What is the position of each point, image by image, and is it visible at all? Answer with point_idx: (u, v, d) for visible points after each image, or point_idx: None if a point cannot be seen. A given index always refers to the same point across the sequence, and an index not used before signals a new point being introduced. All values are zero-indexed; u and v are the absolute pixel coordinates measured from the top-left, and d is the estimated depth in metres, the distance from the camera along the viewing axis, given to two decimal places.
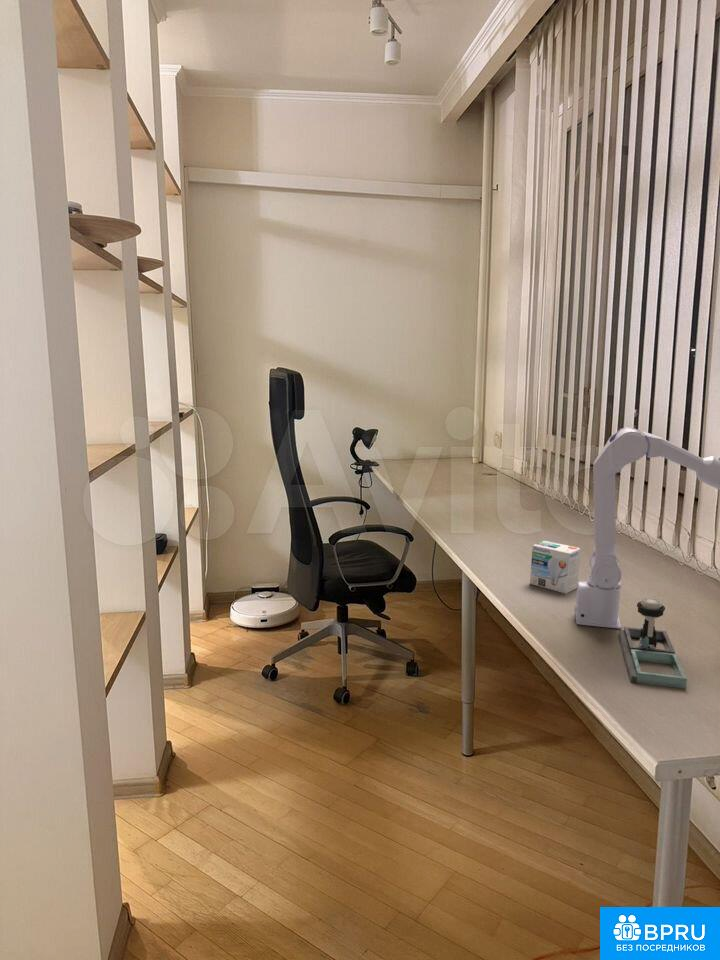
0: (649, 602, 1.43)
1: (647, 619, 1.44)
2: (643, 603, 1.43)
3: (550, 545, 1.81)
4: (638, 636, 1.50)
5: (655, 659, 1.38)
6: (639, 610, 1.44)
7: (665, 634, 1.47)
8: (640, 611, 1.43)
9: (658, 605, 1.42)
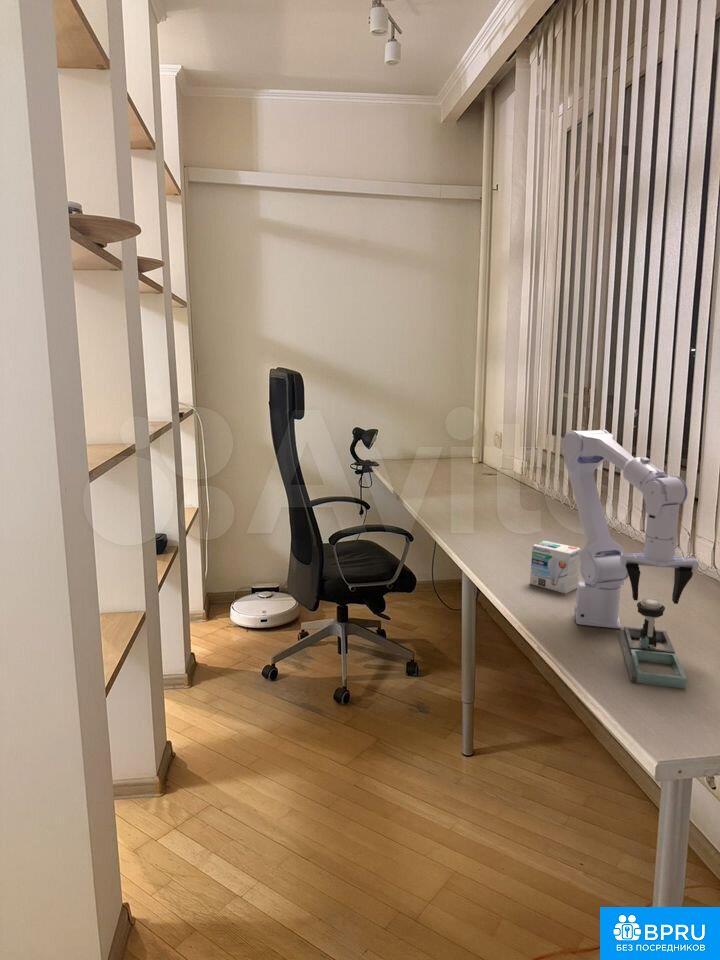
0: (649, 602, 1.43)
1: (647, 619, 1.44)
2: (643, 603, 1.43)
3: (550, 545, 1.81)
4: (638, 636, 1.50)
5: (655, 659, 1.38)
6: (639, 610, 1.44)
7: (665, 634, 1.47)
8: (640, 611, 1.43)
9: (658, 605, 1.42)
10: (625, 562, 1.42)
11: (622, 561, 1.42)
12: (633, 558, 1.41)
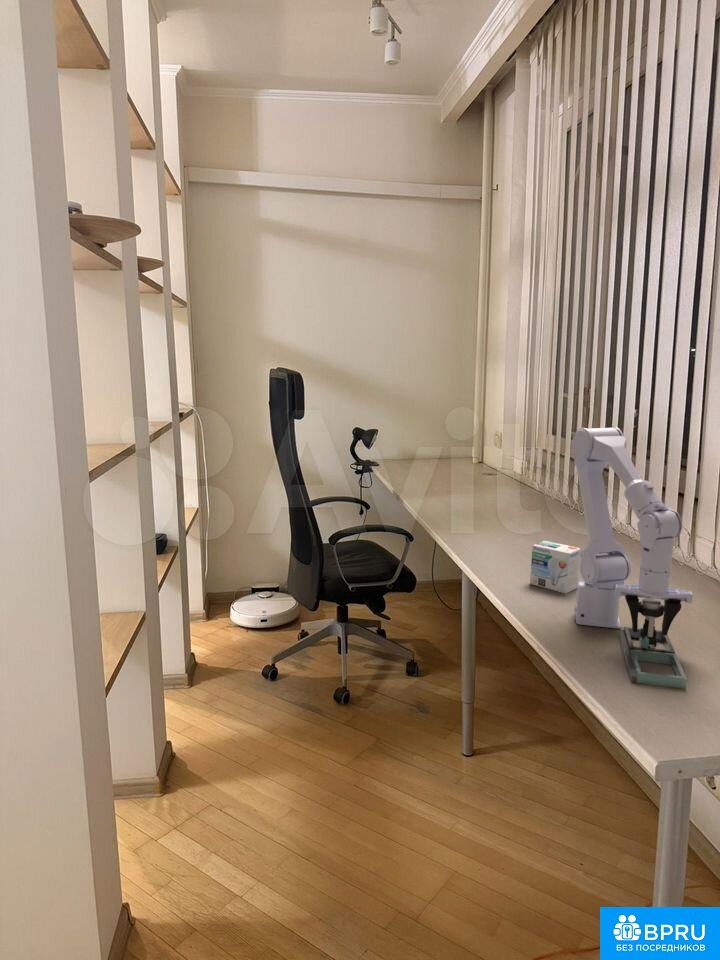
0: (649, 602, 1.43)
1: (647, 619, 1.44)
2: (643, 603, 1.43)
3: (550, 545, 1.81)
4: (638, 636, 1.50)
5: (655, 659, 1.38)
6: (639, 610, 1.44)
7: None
8: (640, 611, 1.43)
9: (658, 605, 1.42)
10: (620, 593, 1.43)
11: (617, 592, 1.43)
12: (627, 590, 1.42)
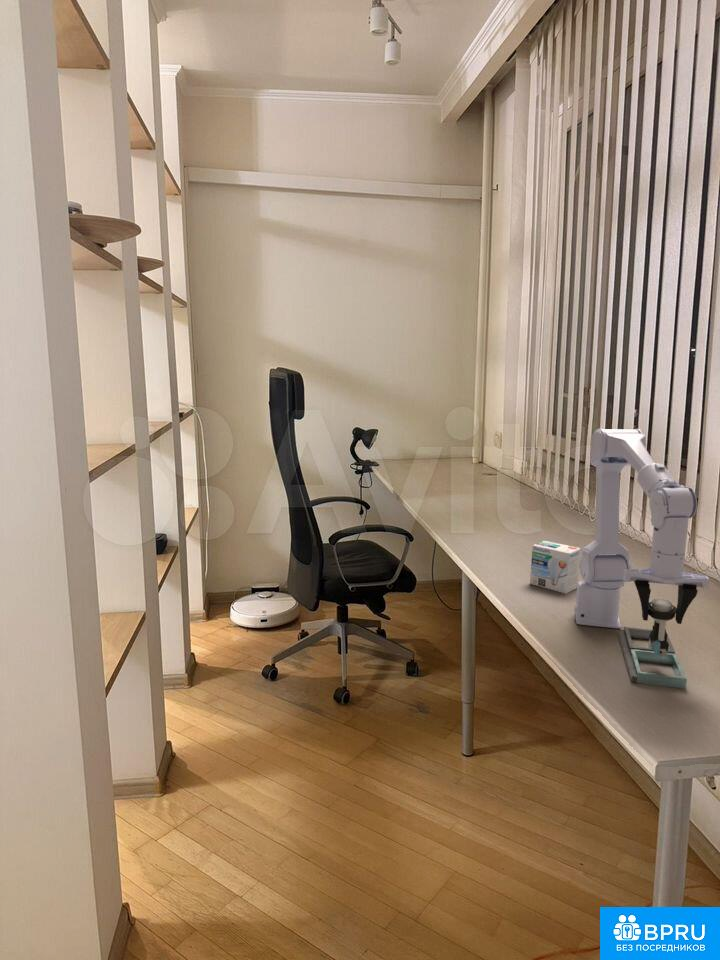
0: (660, 604, 1.32)
1: (658, 622, 1.33)
2: (653, 605, 1.32)
3: (550, 545, 1.81)
4: (638, 636, 1.50)
5: (655, 659, 1.38)
6: (649, 613, 1.33)
7: None
8: (650, 614, 1.32)
9: (670, 607, 1.31)
10: (629, 578, 1.31)
11: (626, 577, 1.31)
12: (638, 575, 1.30)
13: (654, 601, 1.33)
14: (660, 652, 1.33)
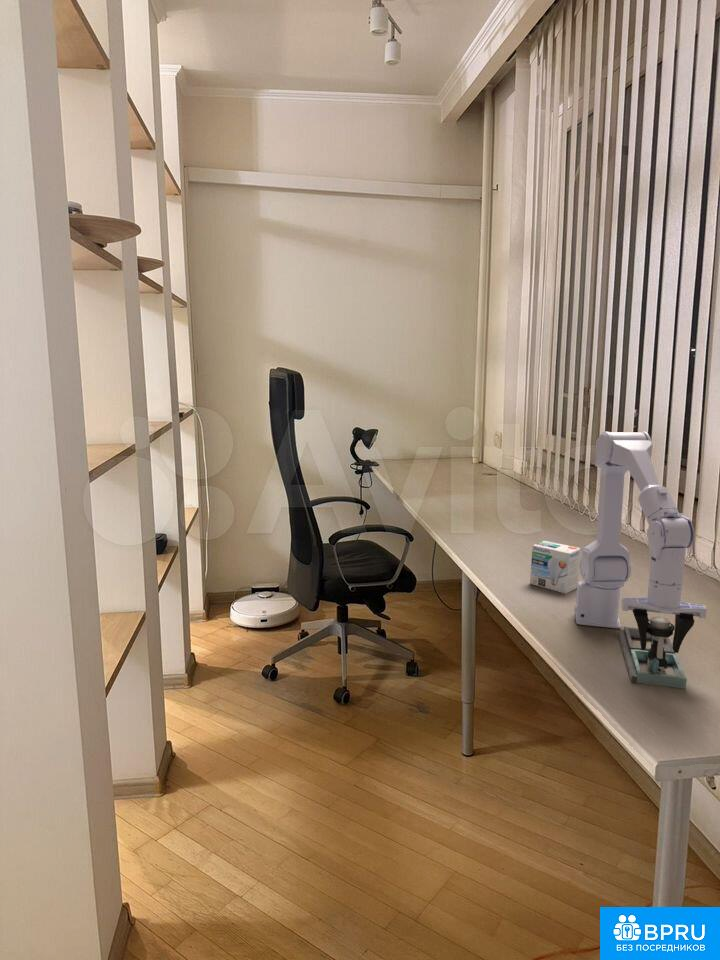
0: (658, 621, 1.33)
1: (656, 639, 1.34)
2: (651, 622, 1.33)
3: (550, 545, 1.81)
4: (638, 636, 1.50)
5: None
6: (647, 630, 1.34)
7: None
8: (649, 631, 1.33)
9: (668, 624, 1.32)
10: (627, 608, 1.32)
11: (624, 606, 1.32)
12: (635, 604, 1.31)
13: (652, 618, 1.34)
14: (659, 670, 1.33)
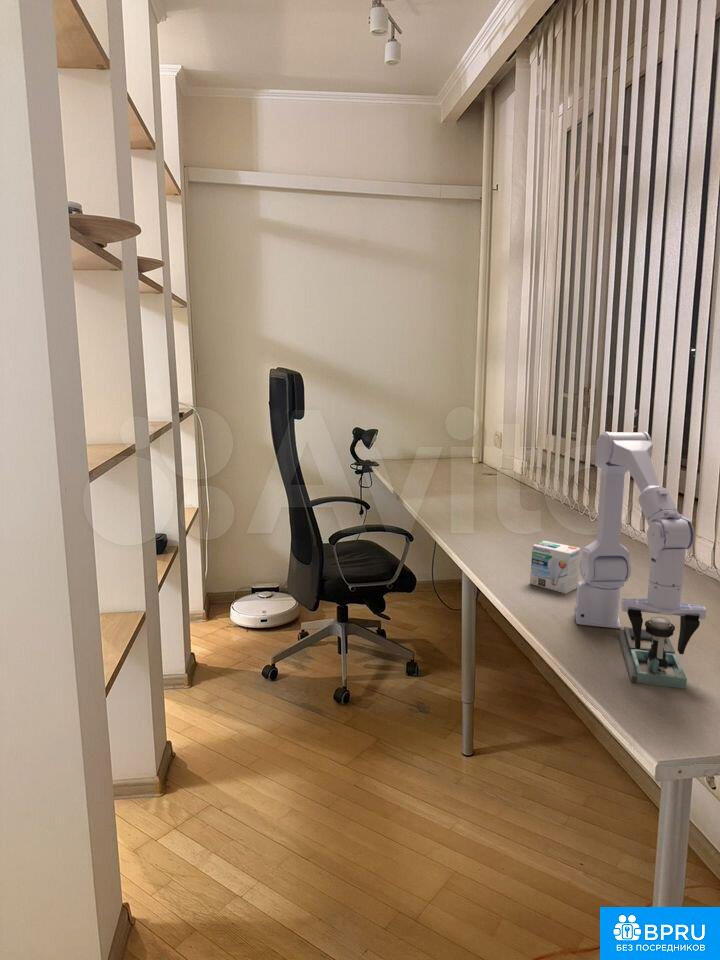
0: (658, 621, 1.33)
1: (656, 639, 1.34)
2: (652, 622, 1.33)
3: (550, 545, 1.81)
4: None
5: None
6: (648, 630, 1.34)
7: None
8: (649, 631, 1.33)
9: (668, 624, 1.32)
10: (627, 608, 1.32)
11: (623, 607, 1.32)
12: (635, 605, 1.31)
13: (652, 619, 1.34)
14: (659, 670, 1.33)
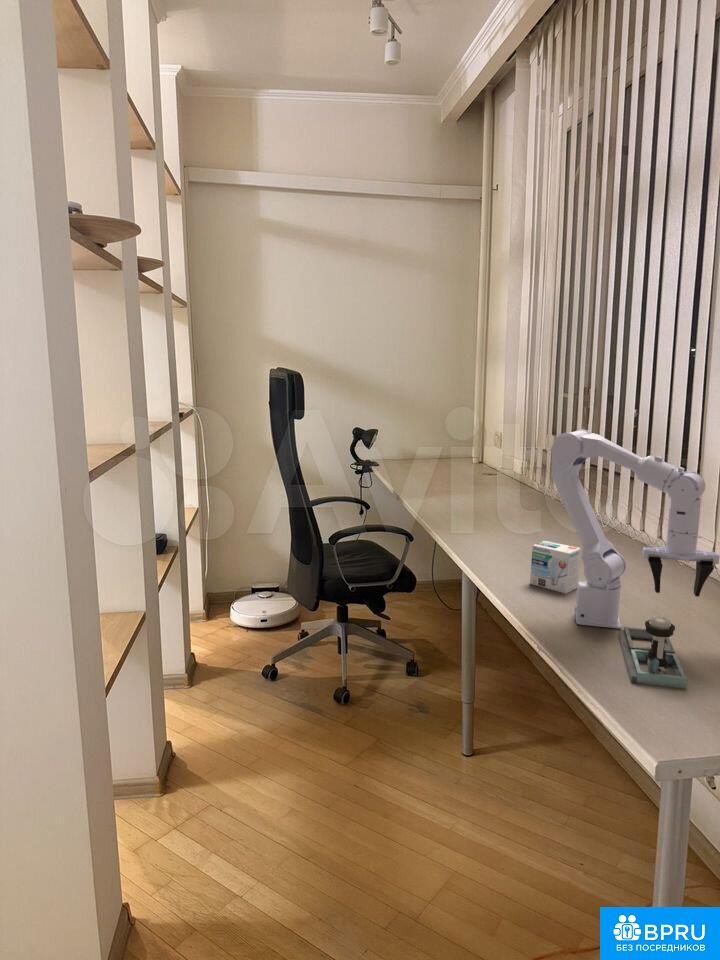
0: (658, 621, 1.33)
1: (656, 639, 1.34)
2: (652, 622, 1.33)
3: (550, 545, 1.81)
4: (638, 636, 1.50)
5: None
6: (648, 630, 1.34)
7: None
8: (649, 631, 1.33)
9: (668, 624, 1.32)
10: (647, 555, 1.47)
11: (644, 555, 1.47)
12: (655, 552, 1.46)
13: (652, 619, 1.34)
14: (659, 670, 1.33)
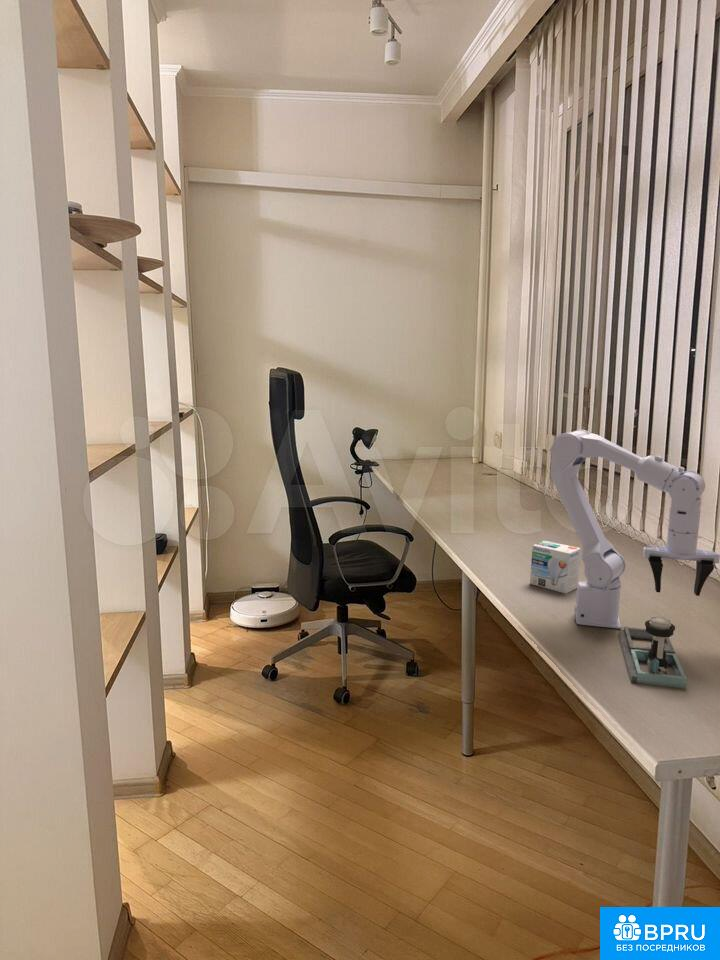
0: (658, 621, 1.33)
1: (656, 639, 1.34)
2: (652, 622, 1.33)
3: (550, 545, 1.81)
4: (638, 636, 1.50)
5: None
6: (648, 630, 1.34)
7: None
8: (649, 631, 1.33)
9: (668, 624, 1.32)
10: (648, 555, 1.47)
11: (645, 554, 1.47)
12: (656, 552, 1.46)
13: (652, 619, 1.34)
14: (659, 670, 1.33)
